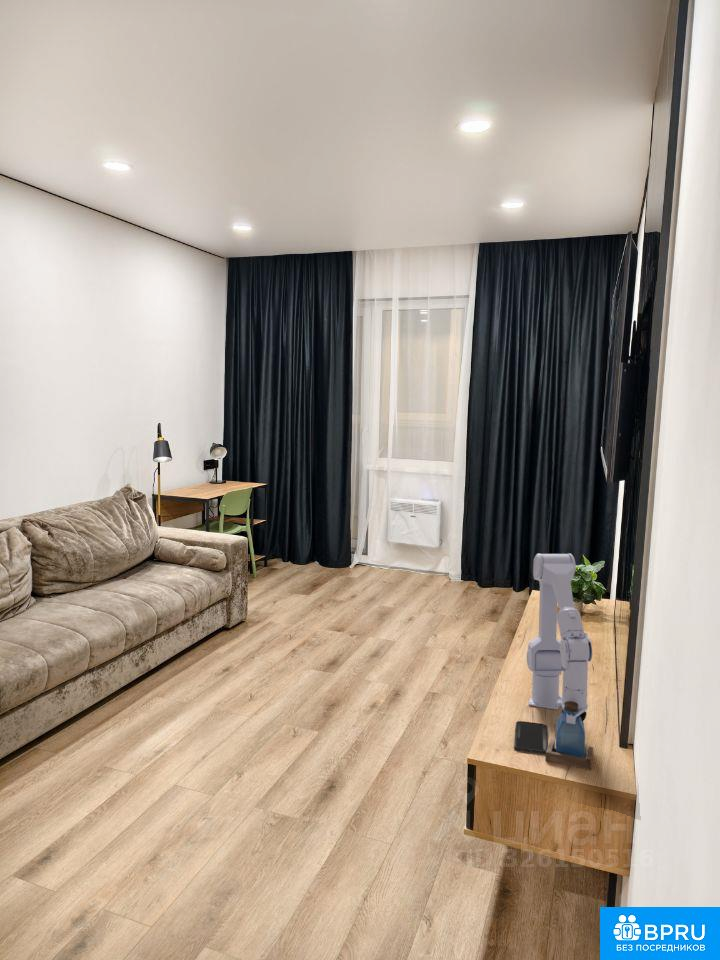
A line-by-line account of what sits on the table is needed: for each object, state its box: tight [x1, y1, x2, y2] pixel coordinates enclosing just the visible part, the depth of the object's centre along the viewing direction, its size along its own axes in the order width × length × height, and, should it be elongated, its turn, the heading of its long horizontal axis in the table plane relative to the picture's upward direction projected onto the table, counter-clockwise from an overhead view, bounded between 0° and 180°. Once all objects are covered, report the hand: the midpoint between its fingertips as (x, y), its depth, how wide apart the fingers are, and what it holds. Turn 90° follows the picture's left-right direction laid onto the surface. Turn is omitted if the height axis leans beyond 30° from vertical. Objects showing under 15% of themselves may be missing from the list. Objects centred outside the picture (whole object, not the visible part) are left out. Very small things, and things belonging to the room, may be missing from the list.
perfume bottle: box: [555, 701, 586, 758], centre depth 155 cm, size 6×6×12 cm
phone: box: [513, 720, 548, 755], centre depth 162 cm, size 8×1×15 cm
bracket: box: [544, 738, 594, 771], centre depth 153 cm, size 7×10×2 cm
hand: (573, 740), depth 159 cm, fingers closed, pressing on perfume bottle
